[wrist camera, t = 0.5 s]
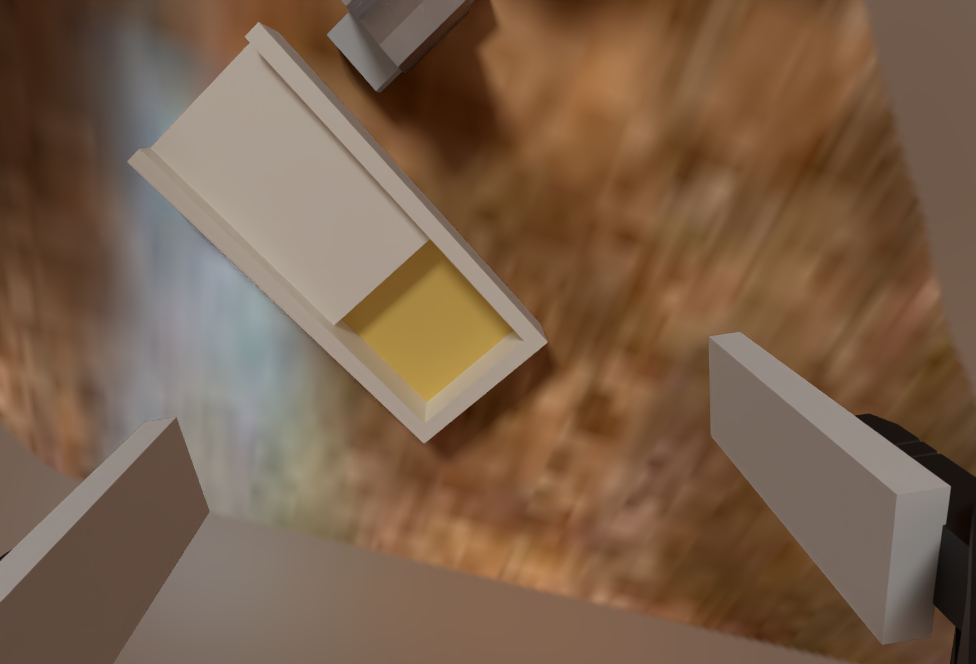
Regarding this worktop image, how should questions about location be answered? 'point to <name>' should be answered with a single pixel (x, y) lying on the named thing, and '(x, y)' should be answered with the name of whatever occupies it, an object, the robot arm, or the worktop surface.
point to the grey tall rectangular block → (364, 52)
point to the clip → (408, 25)
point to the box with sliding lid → (340, 237)
